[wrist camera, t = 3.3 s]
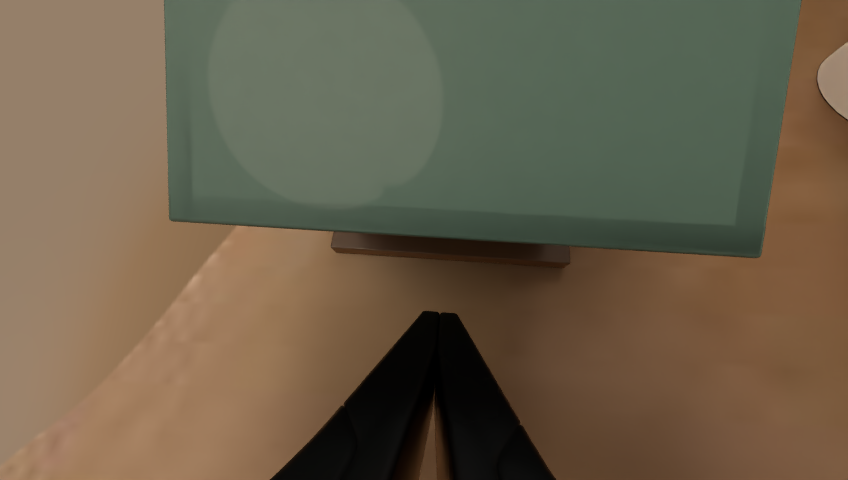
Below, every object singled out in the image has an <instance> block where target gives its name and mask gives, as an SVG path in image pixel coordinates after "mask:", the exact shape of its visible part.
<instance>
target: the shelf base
mask: <svg viewBox="0 0 848 480" xmlns="http://www.w3.org/2000/svg"><path fill="white" fill-rule="evenodd" d="M331 248H332V249H333V250H334V251H335V252H338V253H353V254H368V255H382V256H397V257H411V258H426V259H441V260H455V261H470V262H484V263H499V264H514V265H528V266H543V267H557V268H564V267H566V266H567V265H568V264H570V250H569V246H556V245H540V244H524V243H508V242H492V241H477V240H461V239H445V238H429V237H413V236H397V235H381V234H366V233H350V232H334V233H333V238H332V243H331Z"/></svg>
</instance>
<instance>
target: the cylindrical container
mask: <svg viewBox="0 0 848 480" xmlns="http://www.w3.org/2000/svg"><path fill="white" fill-rule="evenodd" d="M817 81H818V85H819V89H820V91H821V93H822V95H823V97H824V98H825V99H826V101H827V102H828V103H829V104H830V105H831V106H832V107H833V108H834V109H835V110H836V111H837V112H838V113H839V114H841V115H842V116H843V117H845V118H846V119H848V42H847V43H846V44H844V45H843V46H842V47H840V48H839V49H838V50H836V51H835V52H834V53H833V54H831V55H830V56H829V57H827V58H826V59H825V60H824V61H823V63H822V64H821V65H820V68H819V70H818V76H817Z"/></svg>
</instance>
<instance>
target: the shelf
mask: <svg viewBox="0 0 848 480" xmlns="http://www.w3.org/2000/svg"><path fill="white" fill-rule="evenodd" d="M801 1H802V0H164V15H165V58H166V98H167V99H166V102H167V143H168V186H169V187H168V188H169V219H170V220H171V221H175V222H176V221H177V222H191V223H208V224H223V225H239V226H255V227H271V228H286V229H302V230H318V231H334V232H350V233H366V234H381V235H397V236H413V237H429V238H445V239H461V240H477V241H492V242H508V243H524V244H540V245H556V246H572V247H587V248H603V249H619V250H635V251H651V252H667V253H683V254H698V255H714V256H730V257H746V258H758V257H760V256H761V253H762V247H763V240H764V234H765V228H766V227H765V225H766V219H767V212H768V206H769V200H770V194H771V188H772V181H773V175H774V169H775V163H776V156H777V150H778V144H779V138H780V132H781V125H782V119H783V113H784V107H785V100H786V94H787V88H788V82H789V76H790V69H791V63H792V57H793V51H794V44H795V38H796V32H797V26H798V20H799V13H800V7H801Z"/></svg>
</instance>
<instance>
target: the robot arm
mask: <svg viewBox="0 0 848 480" xmlns="http://www.w3.org/2000/svg"><path fill="white" fill-rule="evenodd" d="M434 393H435V397H434ZM433 403H434V418H435V441H436V464H437V480H556V478H555V477H554V476H553V474H552V473H551V471H550V470H549V468H548V467H547V465H546V463H545V462H544V460H543V459H542V457H541V455H540V454H539V452H538V451H537V449H536V447H535V446H534V444H533V443H532V441H531V439H530V437H529V436H528V434H527V432H526V431H525V429H524V427H523V426H522V425H520V421H519V419H518V417H517V415H516V414H515V412H514V410H513V409H512V407H511V405H510V404H509V402H508V400H507V398H506V397H505V395H504V393H503V392H502V390H501V388H500V387H499V385H498V383H497V381H496V380H495V378H494V376H493V375H492V373H491V371H490V369H489V368H488V366H487V364H486V363H485V361H484V359H483V358H482V356H481V354H480V352H479V351H478V349H477V347H476V346H475V344H474V342H473V340H472V339H471V337H470V335H469V334H468V332H467V330H466V329H465V327H464V325H463V323H462V322H461V320H460V318H459V317H458V315H457V314H456V313H446V312H442V313H441V314H439V312H434V311H423V312H422V313H421V314H420V316H419V317H418V318H417V319H416V320H415V321H414V323H413V324H412V325H411V326H410V327H409V328H408V329H407V331H406V332H405V333H404V334H403V335H402V336H401V338H400V339H399V340H398V341H397V342H396V343H395V344H394V346H393V347H392V348H391V349H390V350H389V351H388V353H387V354H386V355H385V356H384V357H383V358H382V360H381V361H380V362H379V363H378V364H377V365H376V366H375V368H374V369H373V370H372V371H371V372H370V373H369V375H368V376H367V377H366V378H365V379H364V380H363V381H362V383H361V384H360V385H359V386H358V387H357V388H356V390H355V391H354V392H353V393H352V394H351V395H350V396H349V398H348V399H347V400H346V401H345V402H344V406H341V407H340V408H339V409H338V410H337V411H336V412H335V414H334V415H333V416H332V417H331V418H330V419H329V421H328V422H327V423H326V424H325V425H324V426H323V427H322V428H321V429H320V430H319V431H318V433H317V434H316V435H315V436H314V437H313V438H312V439H311V440H310V441H309V442H308V443H307V444H306V445H305V446H304V447H303V448H302V449H301V450H300V451H299V452H298V453H297V454H296V455H295V456H294V457H293V458H292V459H291V460H290V461H289V462H288V463H287V464H286V465H285V466H284V467H283V468H282V469H281V470H280V471H279V472H278V473H276V474H275V475H274V476H273V477H272V478H271V479H270V480H419V475H420V470H421V465H422V460H423V455H424V450H425V445H426V440H427V435H428V430H429V425H430V420H431V415H432V409H433Z"/></svg>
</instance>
